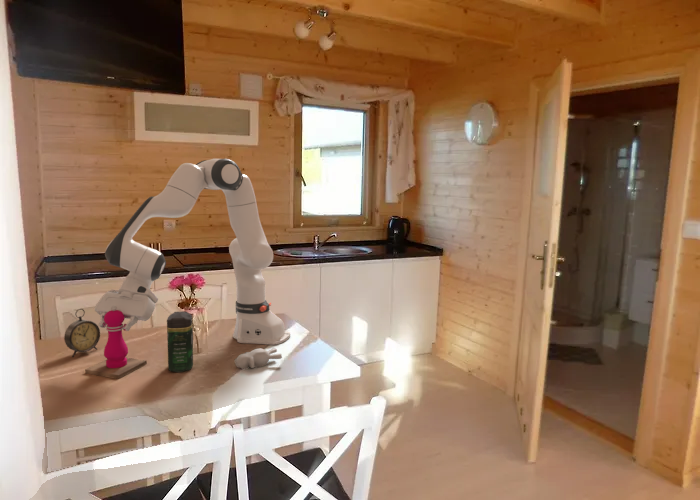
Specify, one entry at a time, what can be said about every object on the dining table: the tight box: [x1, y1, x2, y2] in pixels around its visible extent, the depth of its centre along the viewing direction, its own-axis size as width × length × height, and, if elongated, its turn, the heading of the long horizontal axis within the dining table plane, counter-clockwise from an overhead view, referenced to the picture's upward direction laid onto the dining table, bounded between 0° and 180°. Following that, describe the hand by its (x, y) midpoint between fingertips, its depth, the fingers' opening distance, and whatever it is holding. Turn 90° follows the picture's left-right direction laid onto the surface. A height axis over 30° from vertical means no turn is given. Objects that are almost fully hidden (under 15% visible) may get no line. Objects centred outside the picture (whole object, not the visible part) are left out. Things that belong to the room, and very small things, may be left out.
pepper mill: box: [103, 306, 129, 368], centre depth 165 cm, size 7×7×20 cm
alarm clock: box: [63, 308, 101, 358], centre depth 178 cm, size 11×5×16 cm, turn 148°
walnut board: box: [84, 356, 148, 380], centre depth 167 cm, size 13×13×1 cm
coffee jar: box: [166, 311, 194, 373], centre depth 167 cm, size 10×8×19 cm
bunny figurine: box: [234, 347, 283, 370], centre depth 172 cm, size 10×5×15 cm
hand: (113, 328), depth 164 cm, fingers open, 8 cm apart
